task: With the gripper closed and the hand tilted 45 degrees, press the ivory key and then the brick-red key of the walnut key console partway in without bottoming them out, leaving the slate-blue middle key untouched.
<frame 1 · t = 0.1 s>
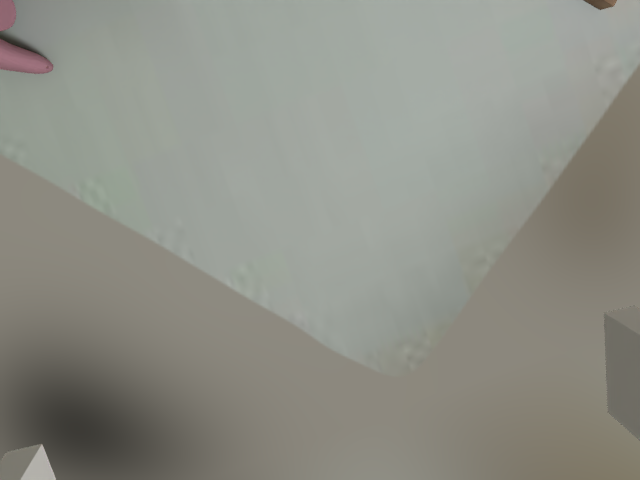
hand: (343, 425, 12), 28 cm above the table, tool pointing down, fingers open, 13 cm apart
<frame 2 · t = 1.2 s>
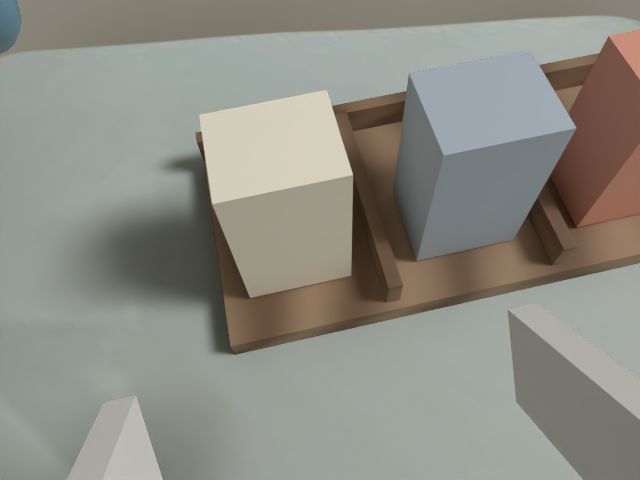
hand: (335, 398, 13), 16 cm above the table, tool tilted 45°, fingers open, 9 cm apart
ivory key: (284, 205, 28), point 7 cm above the table, slide at 0.0 cm
key console: (436, 204, 35), on the table
slate key: (467, 166, 28), point 7 cm above the table, slide at 0.0 cm
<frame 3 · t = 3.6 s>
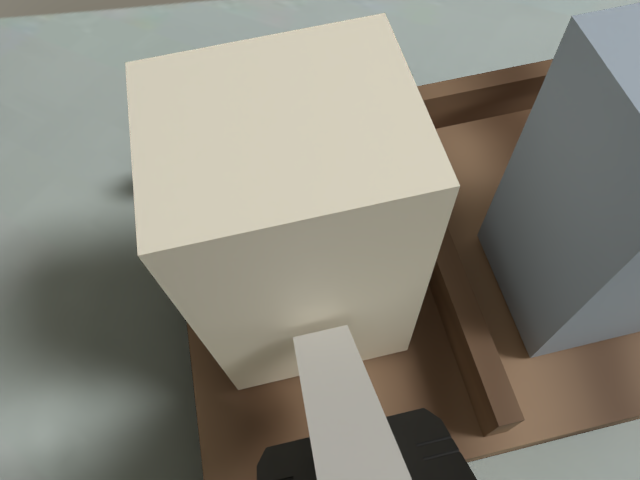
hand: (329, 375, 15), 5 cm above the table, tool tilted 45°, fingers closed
ivory key: (297, 238, 15), point 7 cm above the table, slide at 1.3 cm, touching gripper
key console: (541, 251, 22), on the table
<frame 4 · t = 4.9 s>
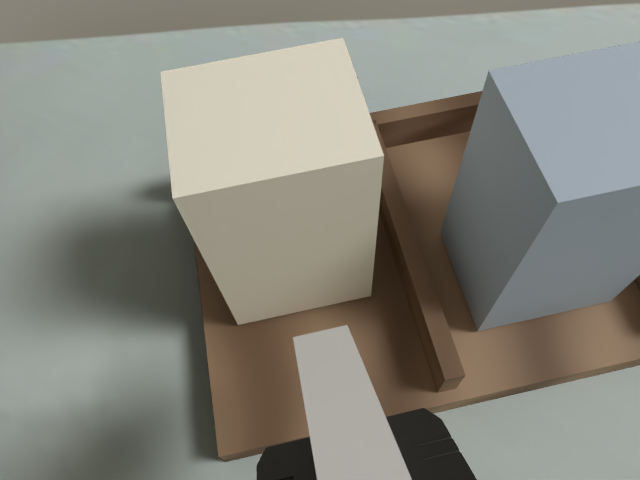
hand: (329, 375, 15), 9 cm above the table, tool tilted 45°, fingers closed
ivory key: (283, 202, 20), point 7 cm above the table, slide at 2.6 cm
key console: (496, 246, 27), on the table
slate key: (559, 205, 20), point 7 cm above the table, slide at 0.0 cm
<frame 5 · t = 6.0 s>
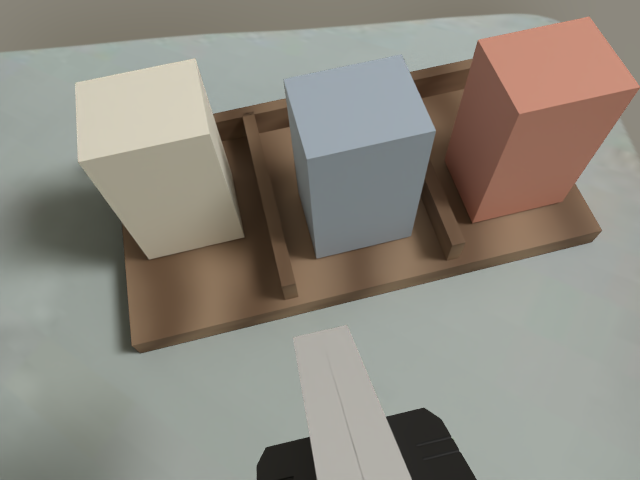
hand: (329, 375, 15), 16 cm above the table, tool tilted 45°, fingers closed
ivory key: (169, 169, 30), point 7 cm above the table, slide at 2.6 cm
key console: (344, 202, 36), on the table
brick key: (525, 130, 30), point 7 cm above the table, slide at 0.0 cm
slate key: (354, 167, 29), point 7 cm above the table, slide at 0.0 cm
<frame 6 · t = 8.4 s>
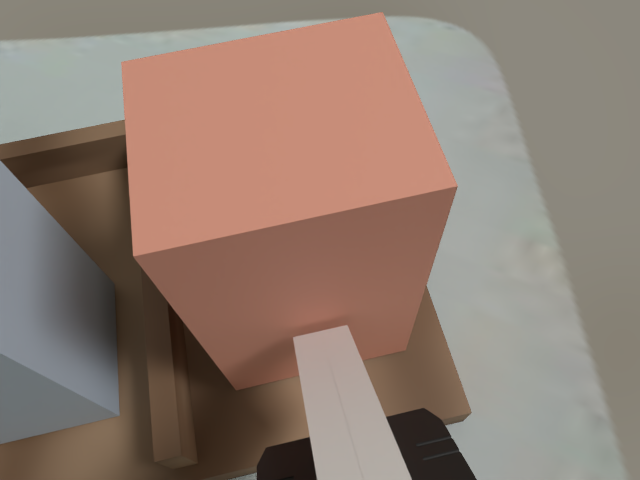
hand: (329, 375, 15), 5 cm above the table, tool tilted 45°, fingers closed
key console: (55, 330, 21), on the table
brick key: (295, 238, 15), point 7 cm above the table, slide at 0.0 cm, touching gripper
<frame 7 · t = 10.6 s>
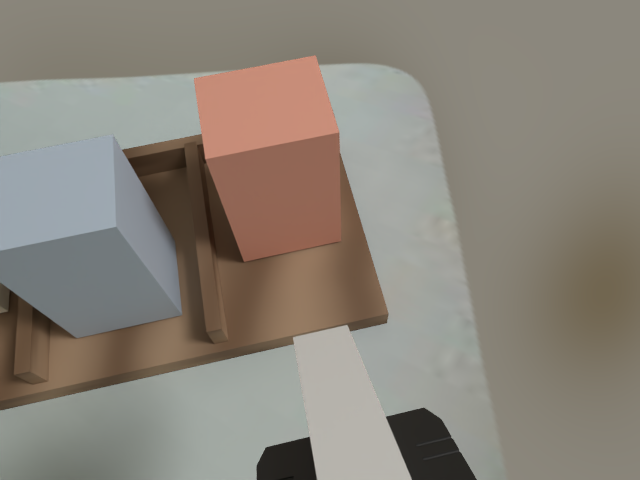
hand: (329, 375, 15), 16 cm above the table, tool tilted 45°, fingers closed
key console: (136, 271, 34), on the table
brick key: (276, 169, 29), point 7 cm above the table, slide at 2.6 cm
slate key: (92, 247, 27), point 7 cm above the table, slide at 0.0 cm
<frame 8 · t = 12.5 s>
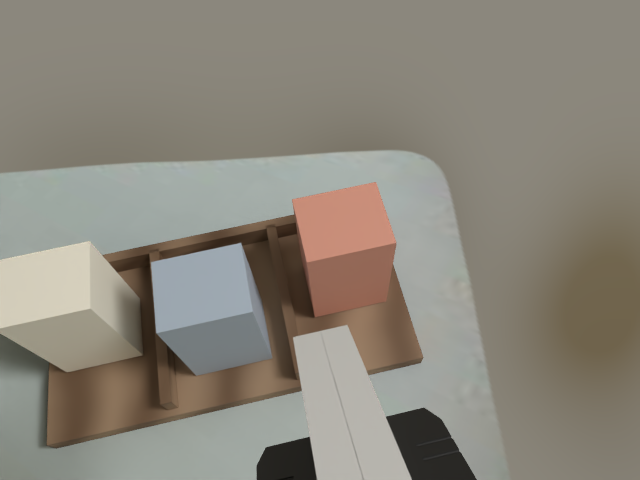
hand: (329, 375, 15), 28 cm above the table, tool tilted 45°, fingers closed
ivory key: (77, 311, 39), point 7 cm above the table, slide at 2.6 cm
key console: (230, 322, 45), on the table
brick key: (343, 254, 40), point 7 cm above the table, slide at 2.6 cm
slate key: (217, 314, 38), point 7 cm above the table, slide at 0.0 cm
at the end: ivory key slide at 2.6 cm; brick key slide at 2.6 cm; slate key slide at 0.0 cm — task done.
